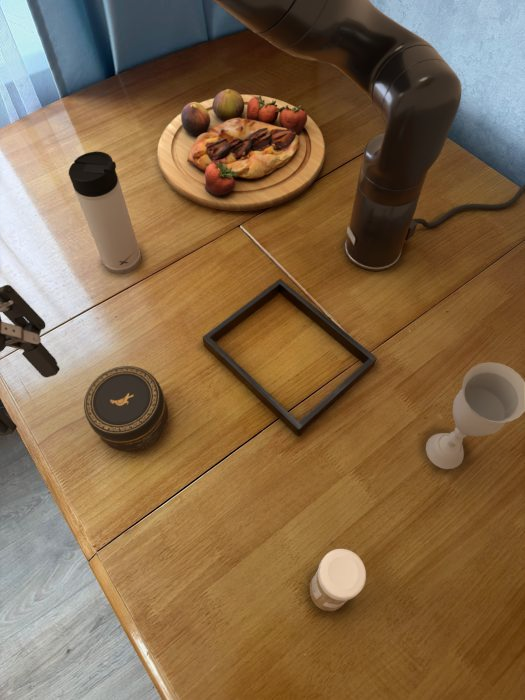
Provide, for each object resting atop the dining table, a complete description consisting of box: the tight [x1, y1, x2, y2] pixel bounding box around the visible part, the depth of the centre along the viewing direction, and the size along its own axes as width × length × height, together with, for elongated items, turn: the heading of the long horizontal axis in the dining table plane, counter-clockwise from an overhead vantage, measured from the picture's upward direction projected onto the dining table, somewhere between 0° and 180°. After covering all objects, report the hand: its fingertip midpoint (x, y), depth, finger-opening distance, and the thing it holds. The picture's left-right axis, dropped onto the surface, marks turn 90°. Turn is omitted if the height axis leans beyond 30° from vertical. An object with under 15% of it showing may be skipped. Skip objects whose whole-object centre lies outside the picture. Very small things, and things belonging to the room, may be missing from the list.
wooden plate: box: [156, 88, 327, 212], centre depth 98 cm, size 32×32×8 cm
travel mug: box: [68, 151, 142, 275], centre depth 80 cm, size 6×7×20 cm
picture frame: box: [201, 278, 378, 437], centre depth 78 cm, size 16×20×2 cm
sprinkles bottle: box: [309, 548, 367, 612], centre depth 57 cm, size 5×5×13 cm
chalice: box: [425, 361, 525, 470], centre depth 63 cm, size 7×7×18 cm
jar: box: [83, 365, 169, 453], centre depth 70 cm, size 10×10×8 cm
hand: (32, 401), depth 55 cm, fingers open, 8 cm apart
